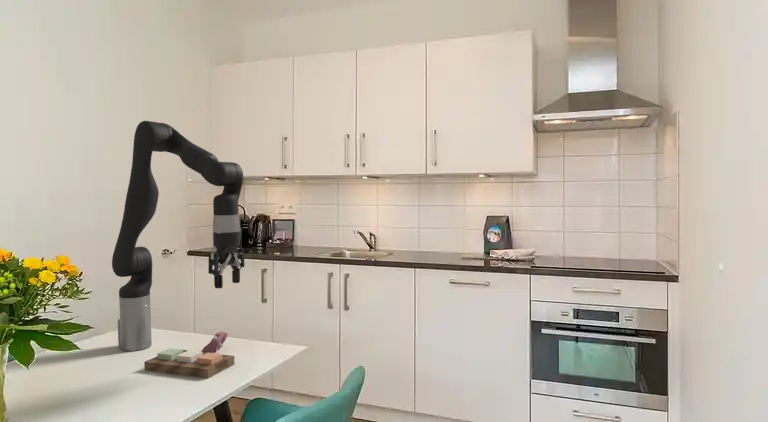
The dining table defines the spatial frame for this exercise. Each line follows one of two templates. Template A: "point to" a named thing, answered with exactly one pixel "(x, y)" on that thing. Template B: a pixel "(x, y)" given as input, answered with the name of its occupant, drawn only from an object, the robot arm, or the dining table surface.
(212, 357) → the key terracotta
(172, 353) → the key sage
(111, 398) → the dining table surface
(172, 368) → the brown wooden flat block
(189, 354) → the key ivory
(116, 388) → the dining table surface
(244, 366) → the dining table surface
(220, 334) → the video game controller
